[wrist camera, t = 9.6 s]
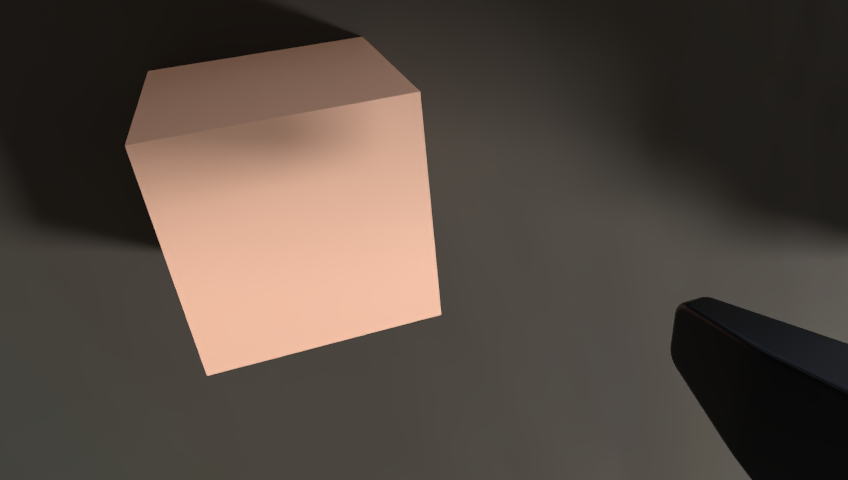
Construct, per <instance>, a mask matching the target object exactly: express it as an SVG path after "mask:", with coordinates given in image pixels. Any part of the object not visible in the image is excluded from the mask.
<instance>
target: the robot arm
mask: <svg viewBox="0 0 848 480" xmlns="http://www.w3.org/2000/svg"><path fill="white" fill-rule="evenodd" d="M671 356H672V359H673V362H674V364H675V366H676V368H677V369H678V371H679V372H680V374H681V376H682V377H683V379H684V380H685V382H686V383H687V385H688V386H689V388H690V390H691V391H692V393H693V394H694V396H695V397H696V399H697V400H698V402H699V404H700V405H701V407H702V408H703V410H704V411H705V413H706V414H707V416H708V418H709V419H710V421H711V422H712V424H713V425H714V427H715V428H716V430H717V431H718V433H719V435H720V436H721V438H722V439H723V441H724V442H725V444H726V445H727V447H728V448H729V450H730V451H731V452H732V454H733V455H734V457H735V458H736V460H737V461H738V462H739V463H740V465H741V466H742V467H743V469H744V470H745V471H746V473H747V474H748V475H749V477H750V478H751V479H752V480H848V344H847V343H844V342H841V341H838V340H835V339H832V338H829V337H826V336H823V335H820V334H817V333H814V332H811V331H808V330H805V329H802V328H799V327H796V326H793V325H790V324H787V323H784V322H781V321H779V320H776V319H773V318H770V317H767V316H764V315H761V314H758V313H755V312H752V311H749V310H746V309H743V308H740V307H737V306H734V305H731V304H728V303H725V302H722V301H719V300H716V299H713V298H710V297H701V298H698V299H694V300H691V301H687V302H684V303H682V304H680V305H679V306H678V308H677V309H676V312H675V319H674V326H673V333H672V341H671Z"/></svg>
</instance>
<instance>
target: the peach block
mask: <svg viewBox="0 0 848 480" xmlns="http://www.w3.org/2000/svg"><path fill="white" fill-rule="evenodd" d="M125 148H126V151H127V153H128V156H129V159H130V162H131V165H132V167H133V170H134V173H135V176H136V179H137V181H138V184H139V187H140V190H141V193H142V195H143V198H144V201H145V204H146V207H147V209H148V212H149V215H150V218H151V221H152V223H153V226H154V229H155V232H156V235H157V237H158V240H159V243H160V246H161V248H162V251H163V254H164V257H165V260H166V262H167V265H168V268H169V271H170V274H171V276H172V279H173V282H174V285H175V288H176V290H177V293H178V296H179V299H180V302H181V304H182V307H183V310H184V313H185V316H186V318H187V321H188V324H189V327H190V330H191V332H192V335H193V338H194V341H195V344H196V346H197V349H198V352H199V355H200V358H201V360H202V363H203V366H204V369H205V372H206V374H207V376H209V375H212V374H216V373H220V372H224V371H228V370H232V369H235V368H239V367H243V366H247V365H251V364H255V363H258V362H262V361H266V360H270V359H274V358H278V357H281V356H285V355H289V354H293V353H297V352H301V351H304V350H308V349H312V348H316V347H320V346H323V345H327V344H331V343H335V342H339V341H343V340H346V339H350V338H354V337H358V336H362V335H366V334H369V333H373V332H377V331H381V330H385V329H389V328H392V327H396V326H400V325H404V324H408V323H412V322H415V321H419V320H423V319H427V318H431V317H435V316H438V315H441V306H440V296H439V285H438V275H437V264H436V254H435V243H434V233H433V222H432V211H431V201H430V190H429V180H428V169H427V159H426V148H425V137H424V127H423V116H422V106H421V95H420V91H419V90H418V89H417V88H416V87H415V86H414V85H413V84H412V83H411V82H410V81H409V80H407V79H406V78H405V77H404V76H403V75H402V74H401V73H400V72H399V71H398V70H397V69H396V68H395V67H394V66H393V65H392V64H391V63H390V62H389V61H388V60H386V59H385V58H384V57H383V56H382V55H381V54H380V53H379V52H378V51H377V50H376V49H375V48H374V47H373V46H372V45H371V44H370V43H369V42H368V41H367V40H365V39H364V38H363V37H357V38H351V39H344V40H338V41H332V42H326V43H319V44H313V45H307V46H301V47H295V48H288V49H282V50H276V51H270V52H263V53H257V54H251V55H245V56H239V57H232V58H226V59H220V60H214V61H207V62H201V63H195V64H189V65H183V66H176V67H170V68H164V69H158V70H152V71H148V73H147V76H146V79H145V82H144V86H143V89H142V92H141V95H140V98H139V101H138V105H137V108H136V111H135V114H134V117H133V121H132V124H131V127H130V130H129V133H128V136H127V140H126V143H125Z"/></svg>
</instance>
